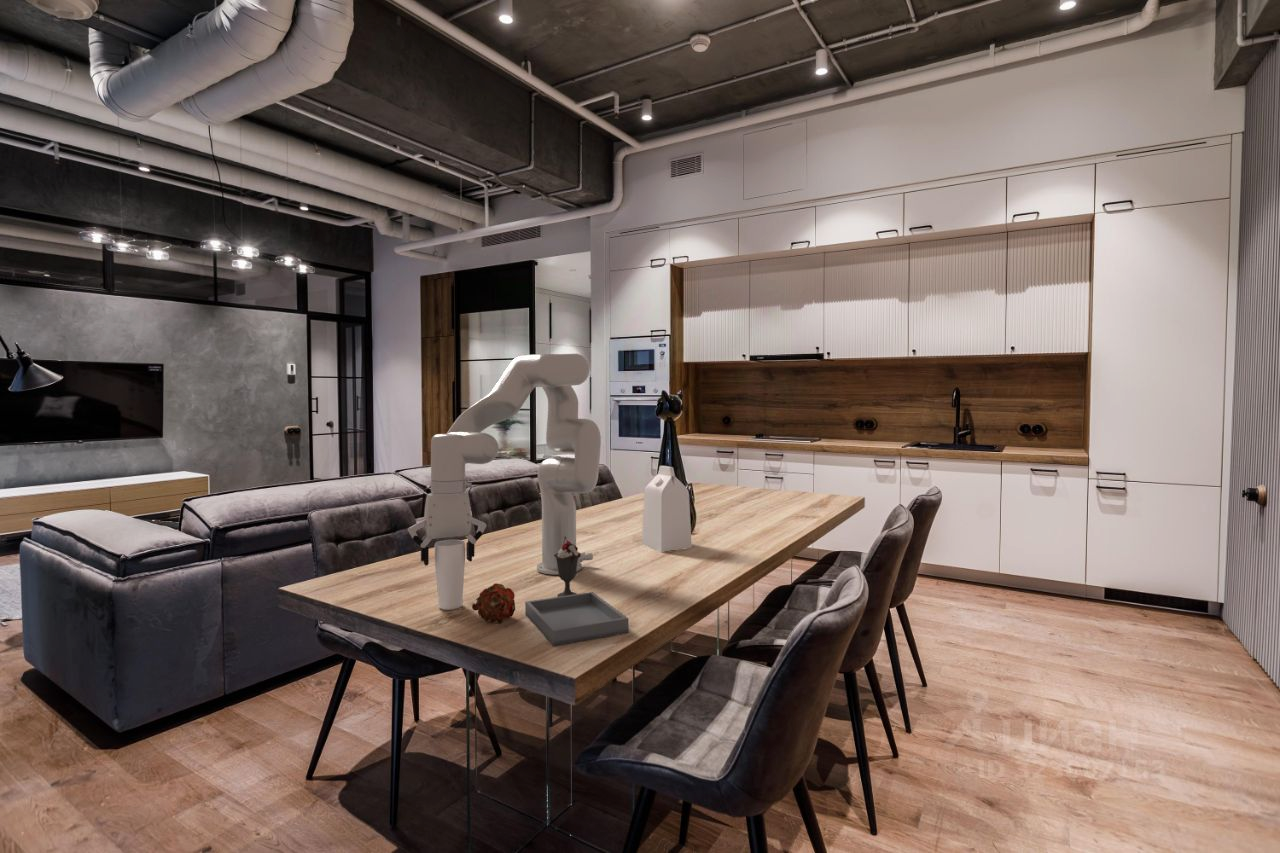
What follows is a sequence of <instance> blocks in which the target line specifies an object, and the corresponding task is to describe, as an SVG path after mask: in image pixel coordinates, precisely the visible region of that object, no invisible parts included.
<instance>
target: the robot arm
mask: <svg viewBox="0 0 1280 853" xmlns="http://www.w3.org/2000/svg"><path fill="white" fill-rule="evenodd" d="M589 374H590V364H589V362H588V360H587V359H586V357H585V356H583V355H582V354H579V353H537V354H532V353H531V354H521V355H519V356H516V357H515V358H513V359H512V360H511V361H510V363H509V364H508V366H507V367H506V369H505V370H504V372H503V373H502V374H501V376H500V378H499V379H498V381H497V382H496V383H495V385H494V386H493V387H492V390H490V392H489V393H488V394H487V395H486V396H484V397H482V398H481V399H480V400H478V401H477V402H475V403H474V404H473V405H471V406H470V407H468V408H467V409H466V410H464V411H463V412H462V413H461V414H460V415H459V416H458V417H457V418H456V419H455V421H454V422H453V423H452V425H451V426H450V428H449V429H448V431H446V433H438V434H437V433H436V434H434V435H433V436H432V437H431V440H430V493H427V495H426V498H425V504H424V505H425V506H424V513H423V514H424V516H423V518H424V519H422V520H420V521H418V522H417V523H415V524H413V525H411V526H410V527H408V528H407V531H408V533H409V535H410V537H411V539H412V540H413V541H414V542H415V543H416V544H417V545H418V546H419V547H420V561H421V562H423V564H424V566H425V567H426V566H429V560H430V557H429V556H430V555H429V551H430V550H429V547H428V545H429V543H430V542H431V541H432V540H435V539H437V540H438V539H449V538H450V539H452V538H463V537H465V538H466V539H467V542H466V548H465V559H466V560H468V562H472V561H473V558H474V557H475V548H476V547H475V545H476V543H477V541H478V540H479V539H480V538H481V537H482V536H483V534H484V531H485V530H486V528H487V524H486V522H483V521H481V520H479V519H477V518H474V517H473V516H472V513H471V512H472V511H471V503H470V496H469V494H468V492H467V491H466V490H467V489H469V488H471V489H472V481H467V480H466V465H467V464H473V465H474V464H475V465H486V464H488V463H491V462H492V461H493V460H494V459H495V458H496V457H497V456H498V454H499V443H498V441H497V439H496V438H495V437H494V436H493V435H491V434H489V433H486V432H483V431H484V430H486V429H487V428H489V427H491V426H493V425H495V424H498V423H500V422H504V421H506V420H508V419H511V418H513V417H514V416H515V415H517V414H518V413H519V412H520V410H521V408H522V407H523V406H524V403H525V402H527V399H528V397H529V396H530V394H531V393H532V392H533V391H534V389H535V388H542V389H543V392H544V393H545V395H546V398H547V417H546V419H547V420H546V431H545V432H546V433H545V438H546V439H545V440H546V445H547V447H548V449H550V450H551V451H553V452H558V453H569V454H570V453H571V454H574V457H568V456H552V457H548V458H545V459H543V460H542V462H541V463H540V464H539V467H538V469H537V481H538V486H539V491H540V497H541V498H540V499H541V543H542V544H541V545H542V546H541V552H542V553H541V555H542V556H541V557H542V560H541V561H542V562H540V563H538V564H537V566H536V570H537V572H538V573H541V574H545V575H558V576H559V573H558V566H557V560H556V557H555V556H553V555H555V554H557V553H558V552H559V551H560V549H561V548H562V545H563V544H566V542H567V541H569V542H571V544H573V545H575V546H576V547H577V506H576V501H575V499H574V496H573V494H574V493H575V494H589V493H590V492H592V491H594V489H595V487H596V486H597V483H598V479H599V473H600V472H599V471H600V457H601V444H602V442H601V441H602V440H601V438H602V436H601V431H600V428H599V426H598V424H597V423H596V422H594V421H593V420H591V419H587V418H579V398H578V395H577V393H576V391H575V390H574V388H573V386H580V385H582V384H583V383H585V382H586V381H587V379H588V377H589ZM572 493H573V494H572ZM472 524H473V525H475V526H477V530H476V531H475V532H474V534H471V533H472ZM422 528H423V533H424V534H425V535H424V536H422V538H421V537H420V536H418V534H417V531H419V530H420V529H422ZM565 536H566V539H565V538H564V537H565ZM564 539H565V542H564ZM566 540H567V541H566ZM580 553H581V556H580V557H579V558H578V562H577V570H576V573H578V572H580V571H581V570H582V569H583V564H582V562H583V561H593V559H594V556H593V553H592V552H590V553H588V552H587V553H585V552H580Z"/></svg>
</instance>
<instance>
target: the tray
mask: <svg viewBox="0 0 1280 853" xmlns="http://www.w3.org/2000/svg"><path fill="white" fill-rule="evenodd" d="M524 605H525V606H524V607H525V613H524V614H525V616H526V617H527V618H528V619H529V621H530V622H531V623H532V624H533V625H534V626H535V628H537V630H538V631H539V632H540V633H541V634H542V635H543V636H544V637H545V638H546V640H547V641H548V642H549V643H550V644H551V645H552V646H553V647H557V646H562V645H567V644H574V643H578V642H579V643H580V642H585V641H591V640H595V639H600V638H607V636H608V637H613V636H617V634H619V635H624V634H628V632H629V629H630V628H629V624H630V623H629V618H628V617H627V616H626V615H625V614H623V613H622V612H620V611H619V610H618V609H616V607H614V606H612V605H611V604H610V603H608V602H607V601H606V600H604V598H601V597H600V596H599V595H597V594H596V593H595V592H594V591H588V592H583V593H582V592H581V593H577V594H575V595H568V596H561V597H558V596H555V597H554V596H553V597H547V598H541V599H535V600H527V601H525V602H524ZM623 633H624V634H623ZM612 635H613V636H612Z"/></svg>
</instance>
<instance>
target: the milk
mask: <svg viewBox="0 0 1280 853" xmlns="http://www.w3.org/2000/svg"><path fill="white" fill-rule="evenodd" d="M674 469H675V468H674V467H673V466H667V465H659V467H658V472H657V474H656V475H655V476H654V478H652V480H650V481H649V483H647V485H646V486H645V488H644V491H643V492H644V493H643V512H642V513H643V515H642V533H641V535H642V537H641V545H642V544H643V545H645V546H644V547H646V546H648V547H650V548H649V549H651V548H653V549H655V550H654V551H656V550H658V551H660V552H659V553H661V552H662V553H664V552H663V551H669V552H671V551H670V550H676V551H678V550H677V549H683V548H690V547H692V548H693V546H692V527H691V509H690V508H691V507H690V494H689V493H690V492H689V490H688V487H687V486H686V485H684V484H683V483H682V481H681V480H679V479H678V478H677V476H676V474H675V470H674ZM643 545H642V546H643ZM648 547H647V548H648ZM653 549H652V550H653ZM690 549H691V548H690ZM683 550H684V549H683ZM658 551H657V552H658Z"/></svg>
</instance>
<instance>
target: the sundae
mask: <svg viewBox="0 0 1280 853" xmlns="http://www.w3.org/2000/svg"><path fill="white" fill-rule="evenodd" d="M564 538H565V539H566V536H565V537H564ZM565 539H564V542H565ZM566 541H567V540H566ZM578 549H579V547H577V545H576V546H575V545H573V544H571V542H569V541H567V542H566V544H563V545H562V548H561V549H560V551H559V552H558V553H557V554H555V555H553V556H555V557H556V560H557V566H558V573H559V575H558V576H559V578H560V580H561V581H563V582H564V590H563V591H562V592H560V593H557V596H556V597H561V596H568V595H575V594H578V593H577V592H573V591H571V581H573V580H574V579H575V577H576V575H577V572H576V570H577V562H578V558H579V557H580V556H581V553H582V552H579V550H578Z"/></svg>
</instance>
